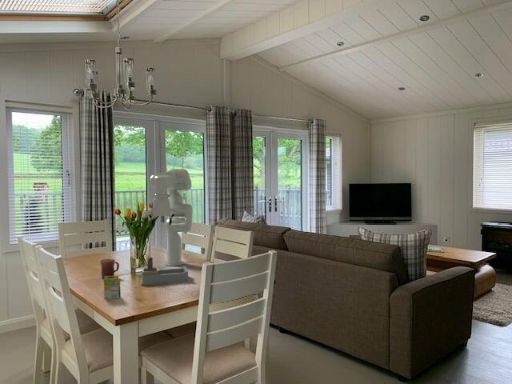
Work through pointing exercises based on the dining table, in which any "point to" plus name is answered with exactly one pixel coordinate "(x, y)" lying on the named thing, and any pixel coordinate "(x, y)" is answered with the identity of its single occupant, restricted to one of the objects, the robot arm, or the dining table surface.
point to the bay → (166, 276)
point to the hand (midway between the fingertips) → (161, 225)
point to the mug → (108, 267)
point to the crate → (150, 268)
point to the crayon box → (111, 287)
